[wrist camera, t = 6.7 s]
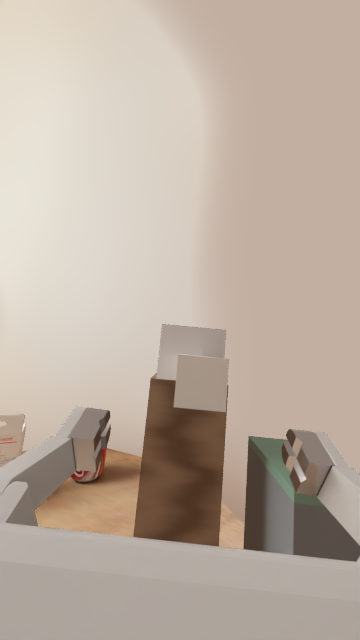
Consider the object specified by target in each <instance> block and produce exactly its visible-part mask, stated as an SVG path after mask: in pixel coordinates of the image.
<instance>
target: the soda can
mask: <svg viewBox="0 0 360 640" xmlns="http://www.w3.org/2000/svg"><path fill="white" fill-rule="evenodd" d="M106 450H107V446H106V447H105V448H104V449H103V450H102V458H101V461H100V463H99V466H98V468H97V471H96V472H94V471H81V470H76V472H75V473H73V474H72V475H71V477H72V478H73V479H75V480H76V481H78V482H89V481H92V480H94V479H96V478H97V477H99V476H100V475H101V474H102V472H103V468H104V464H105V457H106Z"/></svg>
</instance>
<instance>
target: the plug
mask: <svg viewBox="0 0 360 640" xmlns="http://www.w3.org/2000/svg"><path fill="white" fill-rule="evenodd" d="M225 339H226V330H221V329H210V328H198V327H188V326H178V325H166V324H162V331H161V340H160V350H159V360H158V368H157V377H156V379H165V380H175V381H176V385H175V396H174V407H177V408H187V409H197V410H208V411H218V412H226V399H227V382H228V364H229V359H224V355H225Z"/></svg>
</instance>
